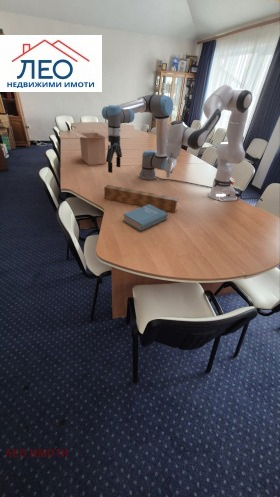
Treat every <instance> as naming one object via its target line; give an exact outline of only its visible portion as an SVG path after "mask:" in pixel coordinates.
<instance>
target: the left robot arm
mask: <svg viewBox="0 0 280 497" xmlns="http://www.w3.org/2000/svg"><path fill="white" fill-rule="evenodd" d="M173 111H174V101H173V99H172V98H171V96H169V95H165V94H152V93H151V94H146V95H144V96H140V97H138V98H137V99H136V100H131V101H127V102H123V103H120V104H116V105H114V104H111V105H108V106H103V107H102V110H101V117H102V118H103V119H104V120H107V134H109V135H108V137H107V140H108V143H110V144H108V145H107V153H106V163H107V173H111V174H113V160H114V159H113V158H114V155H116V157H115V158H116V160H115V161H116V162H115V163H116V164H115V167H116V168H121V158H122V157H123V153H122V147H121V132H122V130H121V124H132V123H133V122H134V120H135V114H137V113H140V114H143V113H150V114H153V119H155V126H156V127H155V130H156V131H155V132H156V136H155V138H156V143H155V144H156V150H153V149H151V150H145V151H143V152H142V159H141V160H142V161H141V169H140V172H139V178H140V179H142V180H146V181H154V180H156V178H157V179H159V180H163V181H172V182H178V183H179V182H180V183H185V184H189V185H195V186H200V187H205V188H210V189H212V186H208V185H204V184H199V183H194V182H188V181H185V180H184V181H183V180H178V179H169V178H161V177H159V176H157V174H156V169H157V170H160V171H164V172H166V171H165V163H166V159H167V155H165V151H166V144H167V135H168V123H169V122H168V121H169V119H170V117H171V116H172V113H173Z"/></svg>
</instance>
